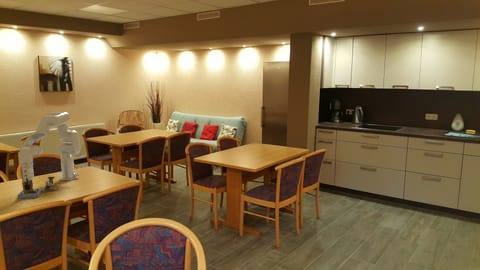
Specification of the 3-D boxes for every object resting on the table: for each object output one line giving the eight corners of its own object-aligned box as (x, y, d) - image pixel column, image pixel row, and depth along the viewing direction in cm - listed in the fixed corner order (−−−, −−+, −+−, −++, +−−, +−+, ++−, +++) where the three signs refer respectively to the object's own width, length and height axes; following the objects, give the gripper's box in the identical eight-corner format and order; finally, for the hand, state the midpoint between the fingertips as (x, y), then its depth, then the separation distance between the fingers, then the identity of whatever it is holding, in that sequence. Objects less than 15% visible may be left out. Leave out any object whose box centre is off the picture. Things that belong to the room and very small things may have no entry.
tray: (41, 192, 264) (41, 188, 264) (37, 197, 253) (37, 193, 253) (22, 193, 261) (22, 190, 260) (17, 199, 250) (17, 195, 249)
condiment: (21, 192, 256) (19, 177, 253) (34, 189, 262) (32, 174, 260) (25, 195, 251) (22, 179, 249) (38, 191, 258) (35, 176, 255)
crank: (51, 187, 269) (51, 180, 268) (44, 188, 267) (44, 181, 266) (55, 182, 281) (54, 176, 280) (48, 183, 279) (48, 176, 279)
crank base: (58, 188, 274) (57, 184, 274) (56, 190, 269) (56, 187, 268) (29, 190, 269) (28, 186, 268) (26, 192, 263) (26, 189, 262)
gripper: (29, 166, 246) (31, 191, 249) (36, 161, 262) (37, 184, 265) (17, 167, 244) (19, 192, 246) (24, 162, 260) (26, 185, 263)
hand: (28, 188), depth 256 cm, fingers closed on condiment, 6 cm apart
